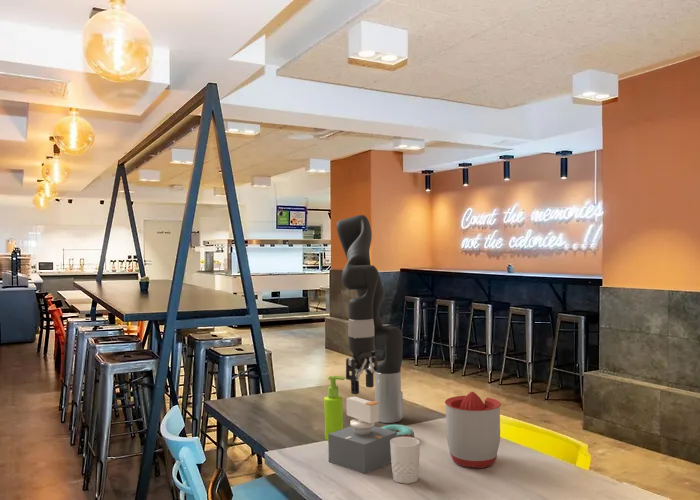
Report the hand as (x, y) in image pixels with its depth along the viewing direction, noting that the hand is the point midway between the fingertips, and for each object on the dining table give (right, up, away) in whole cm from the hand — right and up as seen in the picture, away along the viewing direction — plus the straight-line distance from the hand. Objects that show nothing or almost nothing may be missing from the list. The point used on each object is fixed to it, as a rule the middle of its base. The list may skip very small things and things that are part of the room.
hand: (362, 390), depth 169 cm
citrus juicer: (+32, -20, -1) cm, 38 cm away
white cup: (+11, -20, -13) cm, 27 cm away
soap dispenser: (-8, -21, +20) cm, 30 cm away
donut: (+11, -21, +17) cm, 29 cm away
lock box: (0, -20, 0) cm, 20 cm away
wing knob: (0, -10, 0) cm, 10 cm away
